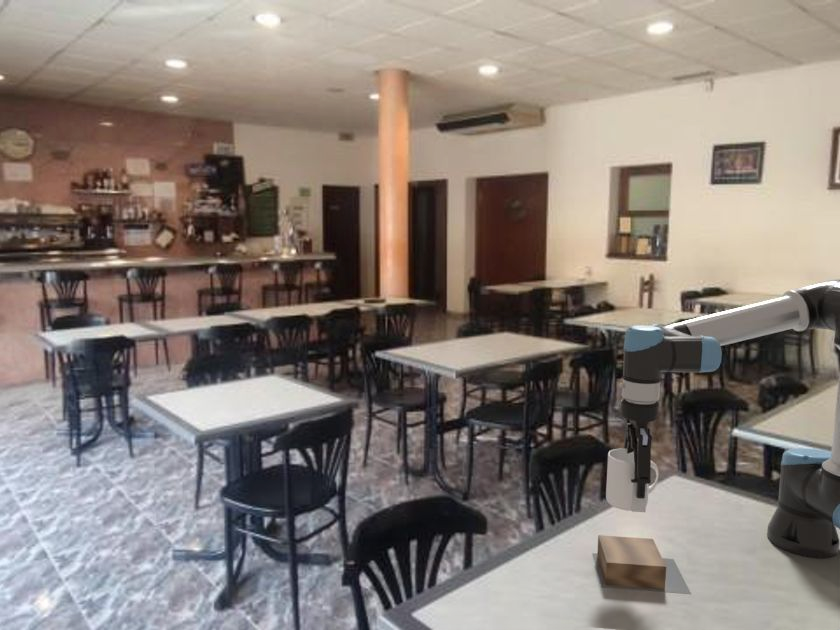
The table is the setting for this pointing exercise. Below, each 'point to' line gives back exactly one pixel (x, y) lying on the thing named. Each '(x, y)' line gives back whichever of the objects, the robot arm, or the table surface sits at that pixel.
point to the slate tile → (672, 584)
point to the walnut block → (631, 562)
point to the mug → (623, 479)
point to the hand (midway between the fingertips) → (633, 501)
